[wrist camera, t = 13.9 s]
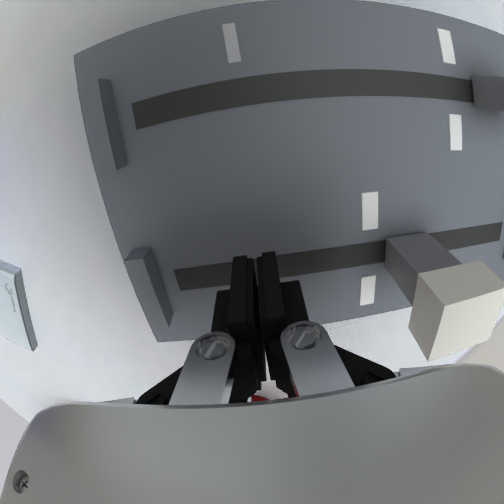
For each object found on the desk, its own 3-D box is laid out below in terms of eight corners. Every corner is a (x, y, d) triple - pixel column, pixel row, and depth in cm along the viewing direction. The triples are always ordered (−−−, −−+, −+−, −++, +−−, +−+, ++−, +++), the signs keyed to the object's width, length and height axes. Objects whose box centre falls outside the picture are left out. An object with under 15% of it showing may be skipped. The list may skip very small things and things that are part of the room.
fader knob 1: (379, 229, 13) (444, 306, 8) (433, 222, 13) (508, 286, 7) (376, 276, 14) (427, 361, 9) (428, 266, 14) (489, 339, 9)
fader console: (93, 59, 11) (59, 52, 8) (501, 44, 9) (534, 42, 7) (164, 320, 18) (152, 356, 15) (494, 265, 17) (519, 287, 14)
